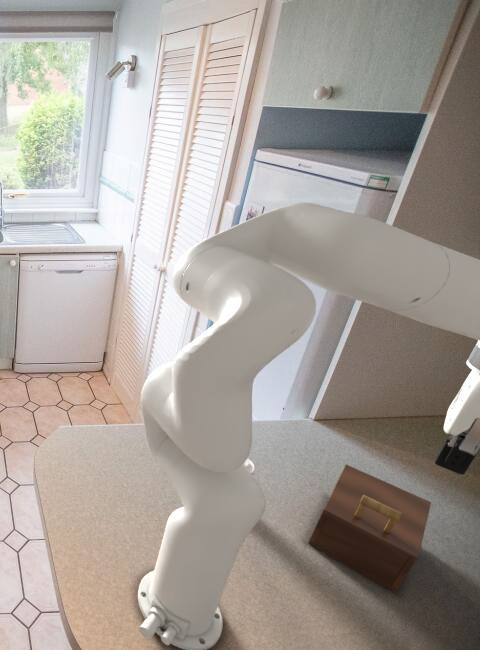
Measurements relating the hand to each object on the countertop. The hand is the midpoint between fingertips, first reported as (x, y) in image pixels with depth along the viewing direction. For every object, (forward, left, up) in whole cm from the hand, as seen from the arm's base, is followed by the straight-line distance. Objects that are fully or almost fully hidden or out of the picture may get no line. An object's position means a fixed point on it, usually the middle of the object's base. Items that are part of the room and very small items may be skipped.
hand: (449, 466), depth 69 cm
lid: (+5, +4, -16) cm, 17 cm away
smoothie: (-3, +26, -25) cm, 36 cm away
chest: (+5, +5, -25) cm, 26 cm away
